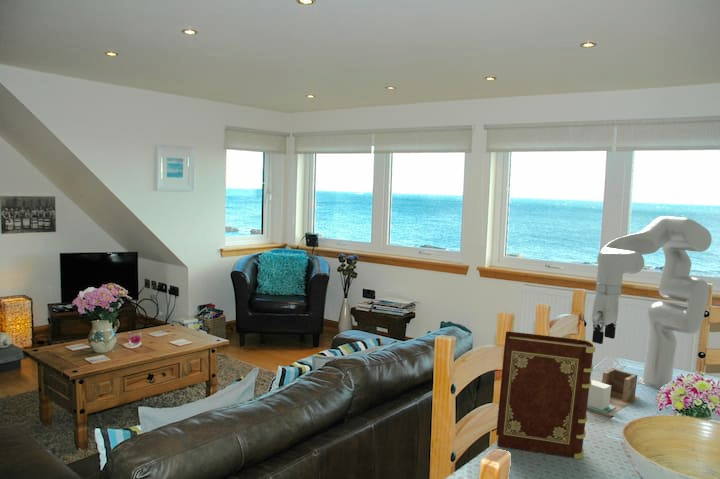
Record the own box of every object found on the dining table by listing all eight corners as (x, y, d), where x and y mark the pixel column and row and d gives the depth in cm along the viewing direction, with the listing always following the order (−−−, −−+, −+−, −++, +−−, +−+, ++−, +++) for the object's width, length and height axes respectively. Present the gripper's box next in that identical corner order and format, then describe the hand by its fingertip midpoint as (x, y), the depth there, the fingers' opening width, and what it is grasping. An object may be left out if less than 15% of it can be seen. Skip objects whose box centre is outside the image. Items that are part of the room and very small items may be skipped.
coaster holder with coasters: (604, 389, 198) (607, 366, 197) (640, 400, 189) (642, 376, 188) (573, 405, 180) (575, 380, 180) (610, 418, 172) (613, 392, 171)
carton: (609, 406, 178) (611, 385, 178) (602, 410, 175) (604, 388, 174) (591, 400, 183) (593, 379, 182) (583, 403, 179) (586, 382, 179)
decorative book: (579, 446, 151) (591, 340, 148) (585, 460, 143) (598, 348, 140) (496, 434, 155) (505, 330, 152) (497, 447, 148) (507, 338, 145)
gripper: (607, 284, 188) (602, 333, 190) (585, 290, 176) (580, 342, 178) (630, 288, 183) (625, 338, 185) (609, 294, 171) (604, 348, 173)
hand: (603, 340), depth 181 cm, fingers open, 9 cm apart
